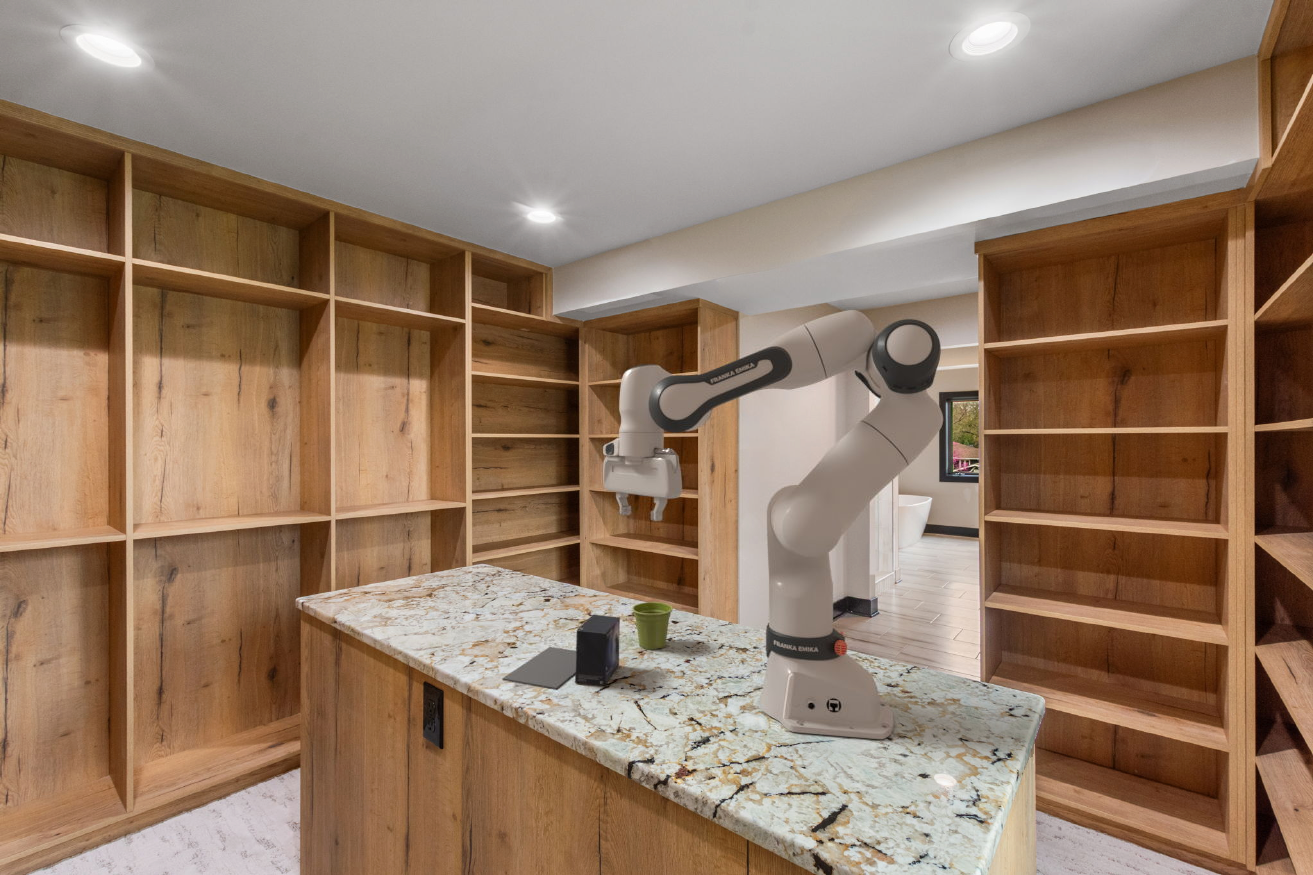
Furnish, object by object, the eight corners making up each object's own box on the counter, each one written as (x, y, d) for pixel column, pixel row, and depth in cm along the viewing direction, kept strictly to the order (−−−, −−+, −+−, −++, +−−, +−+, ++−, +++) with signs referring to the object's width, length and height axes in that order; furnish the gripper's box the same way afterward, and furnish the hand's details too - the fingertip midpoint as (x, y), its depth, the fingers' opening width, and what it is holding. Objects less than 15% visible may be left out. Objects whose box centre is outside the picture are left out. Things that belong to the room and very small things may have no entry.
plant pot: (626, 650, 127) (626, 612, 127) (638, 636, 137) (638, 600, 137) (667, 654, 125) (667, 615, 125) (676, 640, 134) (676, 603, 134)
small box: (606, 687, 109) (606, 632, 109) (574, 684, 110) (574, 630, 110) (621, 666, 119) (621, 615, 119) (591, 663, 120) (591, 613, 120)
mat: (597, 655, 124) (597, 654, 124) (556, 689, 108) (556, 687, 108) (549, 648, 129) (549, 646, 129) (502, 679, 112) (502, 678, 112)
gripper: (690, 448, 107) (689, 522, 107) (621, 446, 122) (621, 510, 122) (665, 448, 102) (664, 525, 102) (598, 446, 118) (597, 513, 118)
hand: (640, 517), depth 112 cm, fingers open, 8 cm apart
